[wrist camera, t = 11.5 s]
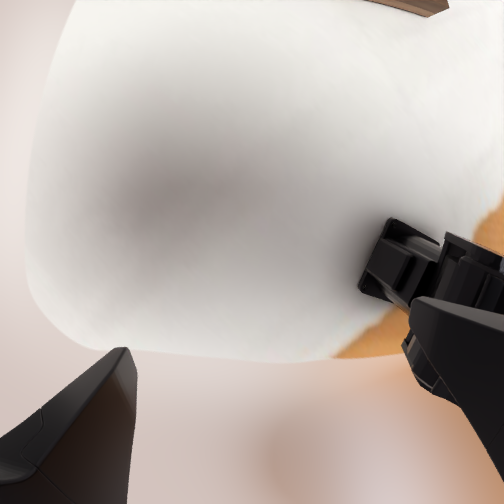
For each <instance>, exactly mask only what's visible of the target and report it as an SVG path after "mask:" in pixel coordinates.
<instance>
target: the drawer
mask: <svg viewBox="0 0 504 504" xmlns="http://www.w3.org/2000/svg"><path fill="white" fill-rule="evenodd" d="M369 1H374V2H378V3H382V4H386V5H389V6H393V7H397V8H400V9H403V10H407V11H410V12H413V13H416V14H419V15H422V16H425V17H430V16H432V15H434V14H437V13H439V12H441V11H444V10H446V9H448V8H449V5H448V1H447V0H369Z"/></svg>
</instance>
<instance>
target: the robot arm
mask: <svg viewBox="0 0 504 504" xmlns="http://www.w3.org/2000/svg"><path fill="white" fill-rule="evenodd" d="M393 222H394V226H393V227H392V223H393ZM444 239H445V241H444V244H443V247H440V244H439V243H438V242H437V241H435V240H433V239H431V238H430V237H428V236H426V235H425V234H423V233H421V232H419V231H417V230H416V229H414V228H412V227H410V226H408V225H407V224H405V223H403V222H401V221H399V220H397V219H395V218H390V219H389V220H388V221H387V223H386V226H385V228H384V230H383V233H382V235H381V237H380V239H379V241H378V243H377V245H376V247H375V249H374V252H373V254H372V256H371V258H370V260H369V262H368V265H367V267H366V270H365V272H364V274H363V276H362V278H361V280H360V282H359V284H358V289H359V290H360V291H361V292H362V293H364V294H367V295H370V296H373V297H376V298H379V299H382V300H385V301H388V302H391V303H395V304H396V305H397V306H398V307H399V308H400V309H401V310H403V311H404V312H405V313H406V314H407V315H408V316H409V326H410V328H411V329H410V331H409V333H408V335H407V337H406V339H404V341H403V343H402V345H401V346H402V349H403V351H404V353H405V355H406V357H407V360H408V362H409V364H410V367H411V369H412V372H413V374H414V376H415V378H416V380H417V382H418V383H419V385H420V386H421V387H423V388H424V389H426V390H427V391H429V392H430V393H432V394H433V395H436V396H438V397H441V398H444V399H446V400H448V401H450V402H452V403H454V404H456V405H457V406H459V407H460V408H461V409H462V411H463V412H464V414H465V415H466V417H467V418H468V420H469V422H470V424H471V425H472V427H473V429H474V430H475V432H476V433H477V435H478V437H479V439H480V440H481V442H482V444H483V445H484V447H485V448H486V449H487V450H486V451H487V453H488V454H489V456H490V458H491V460H492V461H493V463H494V465H495V467H496V469H497V471H498V472H499V474H500V476H501V478H502V480H503V482H504V255H502V254H500V253H498V252H496V251H494V250H491V249H489V248H487V247H485V246H482V245H480V244H477V243H475V242H472V241H470V240H467V239H465V238H462V237H460V236H457V235H455V234H452V233H449V232H447V231H446V233H445V237H444ZM364 285H366V287H365V288H363V286H364ZM136 399H137V369H136V366H135V364H134V361H133V358H132V356H131V353H130V350H129V349H128V348H127V347H117V348H114V349H112V350H111V351H110V352H109V353H108V354H106V355H105V356H104V357H103V358H101V359H100V360H99V361H98V362H97V363H95V364H94V365H93V366H91V367H90V368H89V369H88V370H86V371H85V372H84V373H83V374H81V375H80V376H79V377H78V378H76V379H75V380H74V381H73V382H72V383H70V384H69V385H68V386H67V387H65V388H64V389H63V390H62V391H60V392H59V393H58V394H57V395H55V396H54V397H53V398H52V399H51V400H49V401H48V402H47V403H46V404H44V405H43V406H42V407H41V409H38V410H37V411H36V412H35V413H33V414H32V415H31V416H30V417H28V418H27V419H26V420H25V421H24V422H22V423H21V424H19V425H18V426H16V427H15V428H14V429H12V430H11V431H9V432H8V433H7V434H5V435H4V436H2V437H1V438H0V504H127V493H128V482H129V472H130V462H131V453H132V445H133V437H134V430H135V422H136V401H137V400H136Z"/></svg>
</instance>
